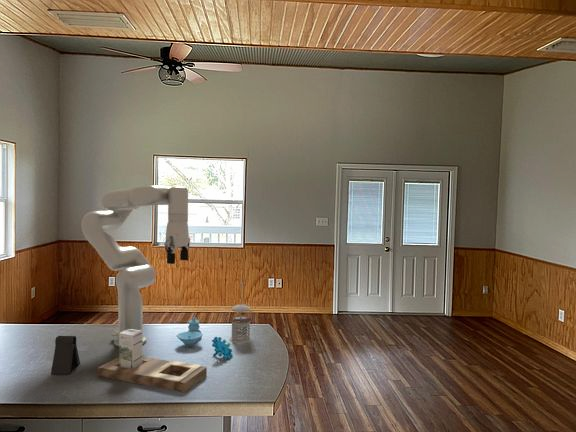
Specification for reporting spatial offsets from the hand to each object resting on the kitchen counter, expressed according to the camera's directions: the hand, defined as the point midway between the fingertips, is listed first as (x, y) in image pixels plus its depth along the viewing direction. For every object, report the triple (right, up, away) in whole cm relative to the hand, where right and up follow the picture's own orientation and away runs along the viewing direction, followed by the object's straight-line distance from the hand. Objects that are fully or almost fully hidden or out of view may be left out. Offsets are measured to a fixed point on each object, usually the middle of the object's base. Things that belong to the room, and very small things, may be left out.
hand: (177, 261), depth 177 cm
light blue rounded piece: (+2, -36, +13) cm, 38 cm away
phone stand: (-35, -36, -18) cm, 54 cm away
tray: (-3, -37, -22) cm, 43 cm away
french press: (+23, -36, +19) cm, 47 cm away
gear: (+18, -37, -3) cm, 41 cm away
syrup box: (-12, -37, -19) cm, 43 cm away
